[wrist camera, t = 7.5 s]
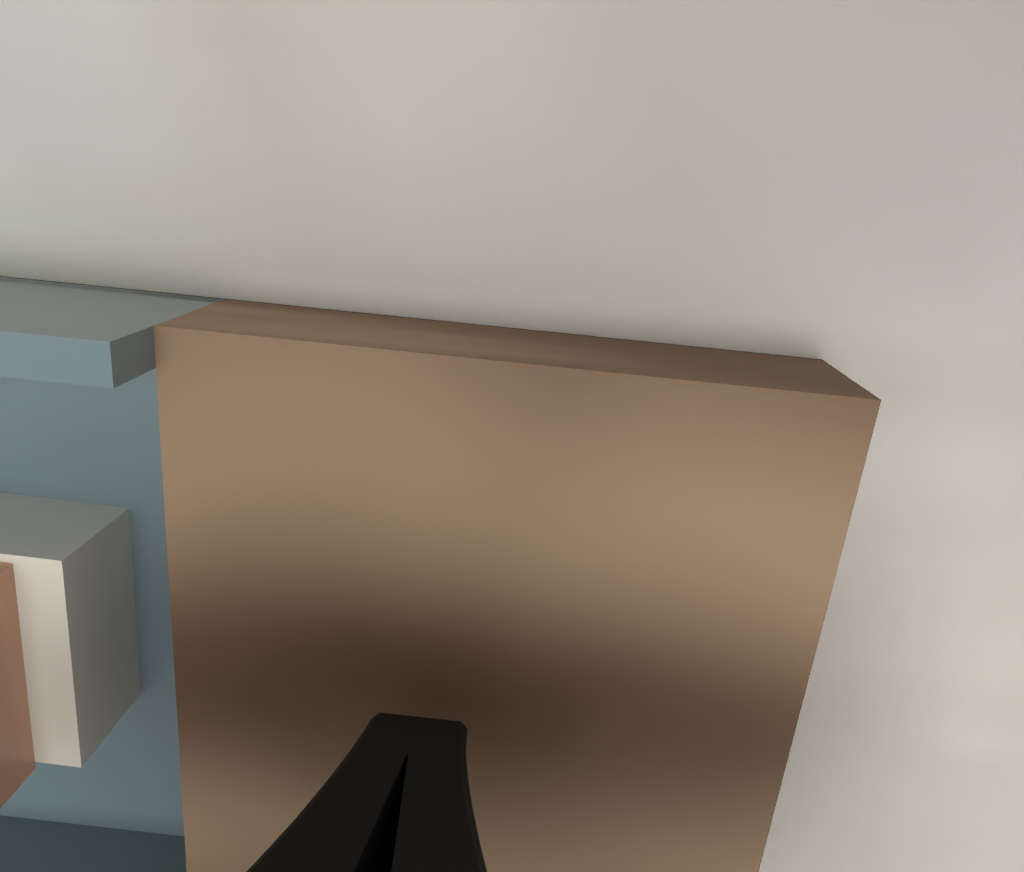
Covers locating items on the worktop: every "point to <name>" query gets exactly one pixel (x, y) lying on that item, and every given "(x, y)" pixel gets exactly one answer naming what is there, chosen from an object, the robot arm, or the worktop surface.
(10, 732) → the terracotta tile
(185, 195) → the worktop surface
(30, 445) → the tray
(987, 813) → the worktop surface
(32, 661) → the cream tile
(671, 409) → the tan rectangular slab
